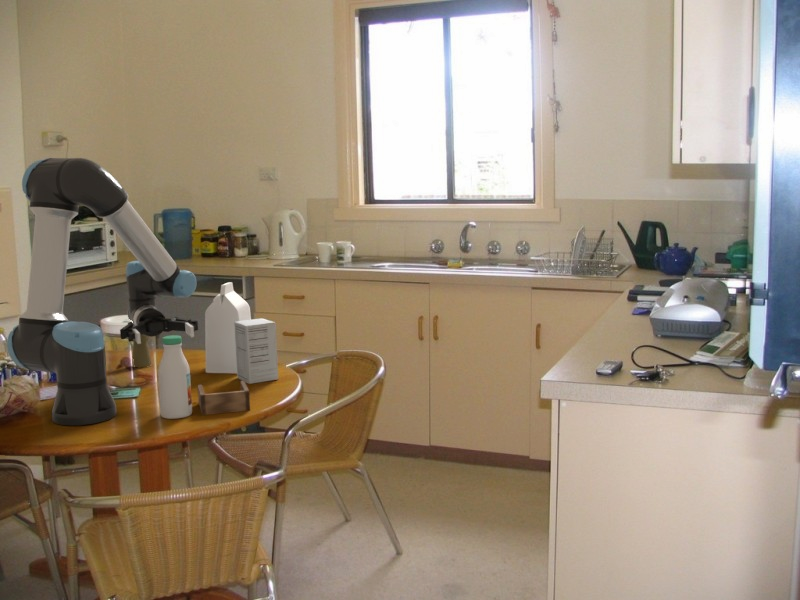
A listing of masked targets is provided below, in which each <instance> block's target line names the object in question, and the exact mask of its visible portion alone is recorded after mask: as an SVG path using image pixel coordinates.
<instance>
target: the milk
mask: <svg viewBox="0 0 800 600" xmlns="http://www.w3.org/2000/svg"><path fill="white" fill-rule="evenodd" d="M204 318H205V319H204V325H205V326H204V329H205V330H204V331H205V332H204V333H205V334H204V335H205V336H204V337H205V338H204V339H205V340H204V342H205V343H204V344H205V347H204V349H205V373H207V374H237V362H236V342H235V326H234V322H237V321H244V320H252V316H251V307H250V305H249V303H248V302H247V301H246V300H245V299H244V298H243V297H241V295H239V294H238V293H237V292H236V291H235V290H234V284H233V282H232V281H231V282H230V281H229V282H226V283H224V284H221V285H220V292H219V294H216V296H214V298H213V300H212V302H211V304H209V306H207V308H206V309H205V312H204Z"/></svg>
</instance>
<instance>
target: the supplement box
mask: <svg viewBox="0 0 800 600" xmlns="http://www.w3.org/2000/svg"><path fill="white" fill-rule="evenodd" d="M234 326H235V342H236V362H237V373H236V375H237V376H236V378H237V379H239V380H240V381H245V383H246V384H249V385H251V384H257V383H263V382H270V381H275V380H276V381H277V380H279V369H278V368H279V367H278V365H279V363H278V349H277V348H278V345H277V343H278V342H277V323H276V322H275V321H272V320H268V319H266V318H263V317H262V318H261V317H259V318H253V319H252V318H251V320H244V321H237V322H234Z"/></svg>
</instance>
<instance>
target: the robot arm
mask: <svg viewBox="0 0 800 600" xmlns="http://www.w3.org/2000/svg"><path fill="white" fill-rule="evenodd" d="M21 187H22V191H23V194H25V198H26V199H27V200H28V201H29V210H30V211H31V212H32V214H33V215H34V216H35V218H34V226H33V229H34V230H33V239H32V249H31V257H30V259H31V261H30V270H29V282H28V291H27V302H26V303H27V304H26V310H25V312H23V313H21V315H19V320H18V324H16V325H15V326H14V327H13V328H12V330H11V331H9V334H8V336H7V341H6V347H7V348H6V349H7V353H8V356H9V358H10V359H11V360H12V362H13V363H14V364H15V365H16V366H18V367H19V368H22V369H25V370H29V371H31V372H45V373H49V374H56V384H57V385H56V386H57V388H56V389H57V392H56V394H55V397H54V398H55V399H54V403H53V407H52V410H51V418H52V422H53V423H55V424H57V425H61V426H83V425H84V426H86V425H93V424H98V423H102V422H105V421H108V420H111V419H113V418H114V417H116V416H117V404H116V402H115V400H114V397H113V395H112V393H111V390H110V388H109V386H108V380H107V362H106V361H107V360H106V359H107V358H106V341H105V339H104V333H103V329H102V328H101V327H100V326H99V325H97V324H95V323H92V322H88V321H77V320H76V321H74V320H73V321H69V319H68V318H67V316H65V314H64V302H65V290H66V281H67V280H66V279H67V271H68V269H67V267H68V259H69V248H70V238H71V237H70V236H71V227H72V220H73V219H74V218H75V217H76V216H78V215H79V207H80V206H84V207H86V208H88V209H90V211H92V212H93V213H94V215H95V216H96V217H98V218H100V219H102V218H103V219H104V221H105V222H106V223H107V224H108V225H109V227H110V228H111V229H112V231H114V232H115V234H116V235H117V236H118V238H119V239H120V240H121V241H122V243H123V244H124V245H125V246H126V248H127V249H128V250H129V251H130V253H131V254H132V255H133V256H134V257H135V259H137V260H133V261H129V262H127V263H126V266H125V268H126V270H125V272H126V273H125V274H126V276H125V280H126V287H127V297H128V298H127V299H128V301H127V303H128V307H127V313H126V314H127V318H128V320H129V319H130V320H132V321H133V323H132V322H130V320H129V322H127V324H126V325H125V326H124V327H122V328H120V329H119V335H120V340H125V339H126V338H128V342H133V339H134V340H135V341H136V342H137V343H138V344H141V338H140V335H142V334H144V335H146V336H149V338H151V337H157V336H159V335H160V334H162V333H163V332H164V333H166V332H167V333H170V332H173V331H174V332H175V331H176V332H185V333H186V334H187V336H189V337H190V338H194V337H195V332H197V331H198V330H199V324H198V323H199V322H198V320H193V319H191V318H190V319H189V318H181V317H179V316H175V317H173V320H172V318H167V317H166V316H165V315H164V313H162V312H161V311H160V310H159V309H158V308H157V300H156V298H157V297H156V296H158V297H159V296H160V297H171V298H177V299H178V298H189V297H190V296H192V295H194V293H195V291H196V288H197V277H196V275H195V274H194V272H192V271H190V270H187V269H181V268H180V267H179V265H178V264H177V262H175V261H174V259H173V258H172V256H171V255H170V254H169V251H168V250H167V249H166V248H165V247H164V246H163V245H162V243H161V242H160V241H159V239H158V238H157V237H156V235H155V233H153V232H152V229H150V228H149V226H148V224H146V222H145V221H144V219H143V218H142V217H141V215H140V214H139V212H138V211H137V210H136V209H135V208H134V207H133V205H132V203H131V202H130V201H129V194H128V192H127V191H126V190H125V188H124V187H123V186H122V184H121V183H120V182H119V181H118V180H117V179H116V178H115V177H114V176H113V175H112V174H111V173H110V172H109V171H108V170H107V169H105V168H104V167H103V166H101V165H100V164H98V162H95V161H93V160H91V159H88V158H83V157H75V158H74V157H73V158H71V157H70V158H68V157H66V158H65V157H64V158H63V157H48V158H45V159H39V160H36V161H34V162H32V163H31V164H30V165H29V166H28V167H27V168H26V169H25V170H24V173H23V177H22V180H21Z"/></svg>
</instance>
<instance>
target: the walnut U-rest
mask: <svg viewBox="0 0 800 600" xmlns="http://www.w3.org/2000/svg"><path fill="white" fill-rule="evenodd" d="M197 393H198V394H197V395H198V405H199V410H200V413H201V414H200V415H201V416H205V415H216V414H225V413H236V412H238V413H239V412H247V411H251V402H250V399H251V398H250V390H249V388H248V385H247V382H245V381H243V380H240V390H235V391H226V392H215V393H205V391H204V388H203V385H202V384H197Z"/></svg>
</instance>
